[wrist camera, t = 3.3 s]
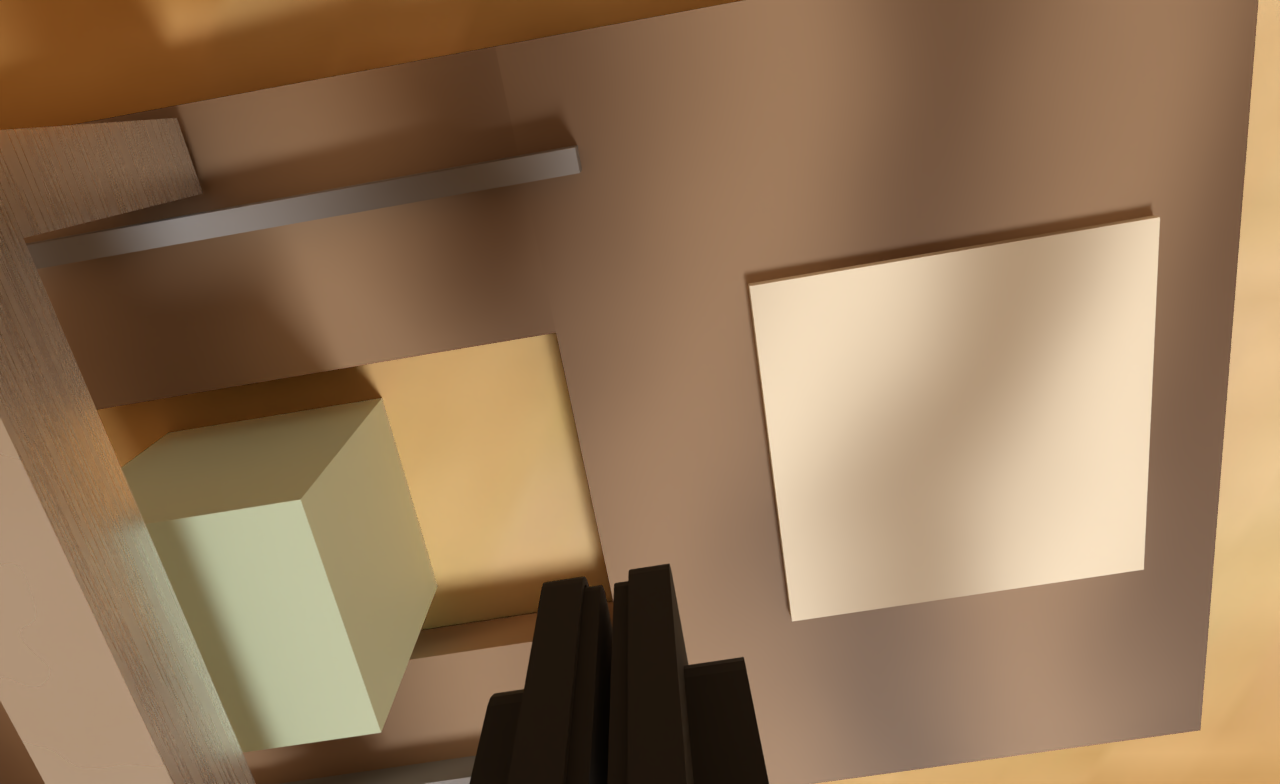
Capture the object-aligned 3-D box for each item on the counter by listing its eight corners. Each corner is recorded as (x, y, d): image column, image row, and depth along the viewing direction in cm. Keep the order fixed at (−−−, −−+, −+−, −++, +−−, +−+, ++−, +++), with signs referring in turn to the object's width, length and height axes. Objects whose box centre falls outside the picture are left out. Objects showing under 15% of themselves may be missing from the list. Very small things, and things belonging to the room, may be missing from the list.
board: (1221, -85, 14) (1294, -105, 12) (1172, 698, 19) (1219, 750, 18) (-366, 210, 15) (-477, 223, 13) (13, 860, 20) (-37, 922, 19)
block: (383, 396, 16) (300, 499, 12) (438, 584, 18) (381, 732, 14) (170, 431, 17) (19, 544, 13) (242, 614, 18) (128, 769, 14)
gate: (176, 117, 13) (-132, 139, 8) (426, 841, 19) (343, 1145, 13) (81, 135, 13) (-290, 168, 8) (357, 850, 19) (247, 1156, 13)
